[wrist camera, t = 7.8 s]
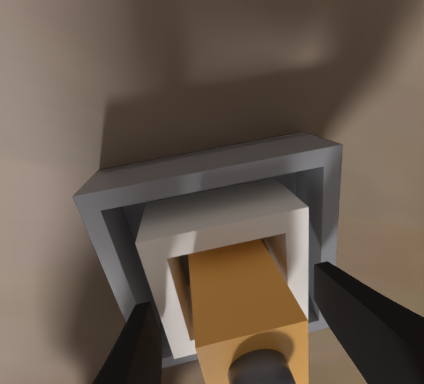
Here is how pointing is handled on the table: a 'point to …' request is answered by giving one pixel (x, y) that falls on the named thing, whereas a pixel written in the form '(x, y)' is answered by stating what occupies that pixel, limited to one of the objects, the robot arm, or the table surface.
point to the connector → (246, 318)
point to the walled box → (213, 223)
